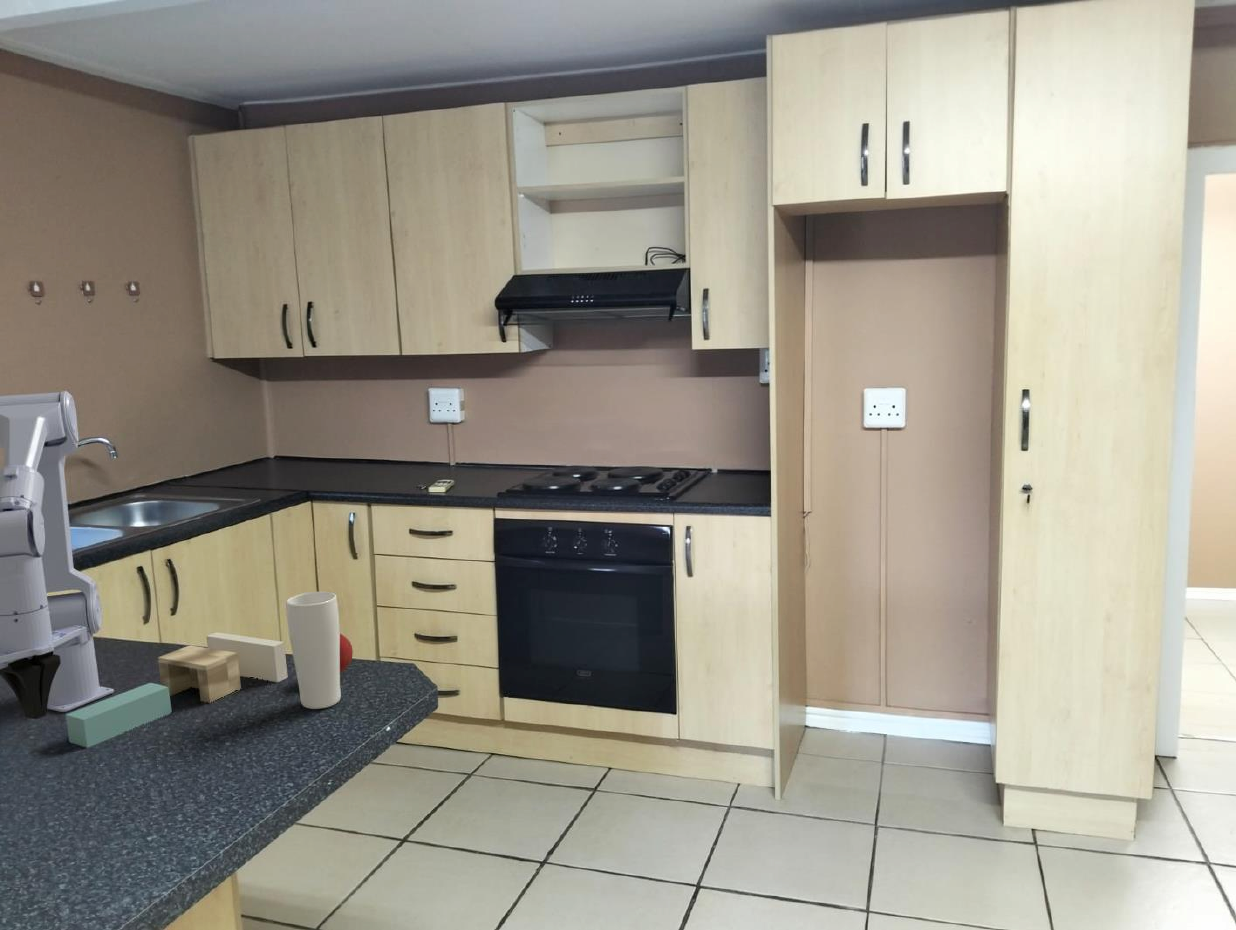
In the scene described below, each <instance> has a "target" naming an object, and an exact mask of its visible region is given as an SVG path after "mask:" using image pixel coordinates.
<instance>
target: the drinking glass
mask: <svg viewBox="0 0 1236 930" xmlns="http://www.w3.org/2000/svg"><path fill="white" fill-rule="evenodd" d="M337 597H338V596H337V594H336V593H334V592H330V591H329V592H328V591H309V592H305V593H301V594H297V595H294V596H291V597H290V598H288V599H286V602H285V606H286V607H285V608H286V609H285V611H286V622H287V623H286V624H287V625H286V626H287V631H288V637H289V641H290V648H291V653H292V658H293V663H294V668H295V673H296V678H297V683H298V690H299V697H300V699H299V700H300V703H301V705H302V706H303V707H304V708H306V709H310V710H320V709H321V710H322V709H326V708H329V707H333V706H335V705H336V704H337V703H339V702H340V700H341V697H342V693H341V674H340V634H341V631H340V629H341V627H340V612H339V605H338V598H337Z"/></svg>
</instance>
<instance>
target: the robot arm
mask: <svg viewBox="0 0 1236 930" xmlns="http://www.w3.org/2000/svg"><path fill="white" fill-rule="evenodd" d="M77 418H78V417H77V410H76V405H75V401H74V398H73V395H72V394H71V393H69V392H68V391H67V390H63V391H62V390H61V392H45V393H43V392H42V393H31V394H14V395H13V394H12V395H0V447H1V448H2V450H3V467H1V468H0V676H1V678H2V679H3V680H4V681H5V682H6V683H7V684H8V686H9V688H11V690H12V692H13V693H14V695H15V696H16V698H17V699H18V702H19V704H20V706H21V709H22V710H23V713H24V716H25V718H28V719H34V720H38V719H40V718H42V717H45V716H47V711H48V710H52V711H56V712H61V713H65V712H69V711H71V710H73V709H76V708H78V707H81V706H83V705H86V704H88V703H91V702H93V701H96V700H98V699H101V698H104V697H106V696H108V695H110V694H113V693H114V692H115V690H114V688H110V687H106V686H100V681H99V680H100V679H99V672H98V666H97V659H96V658H97V657H96V649H95V643H94V635H95V634H98V633H99V631H100V630H101V629H102V625H103V610H102V609H103V608H102V602H101V598H100V594H99V590H98V589H99V588H98V584H97V582H96V581H95V579H94V578H92V577H91V576H89V575H87V574H85V573H82V572H81V571H79V570H77V569H75V567H74V559H73V549H72V548H73V547H72V538H71V529H70V528H71V527H70V515H69V510H68V509H69V507H68V497H67V495H68V494H67V486H66V478H65V477H66V476H65V466H66V465H65V464H66V459H67V455H68V454H70V453H72V452H73V451H76V450H77V449H78V447H79V446H78V443H79V431H78V419H77ZM65 591H78V592H68V593H61V594H54V595H47V594H49V593H57V592H65Z"/></svg>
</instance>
